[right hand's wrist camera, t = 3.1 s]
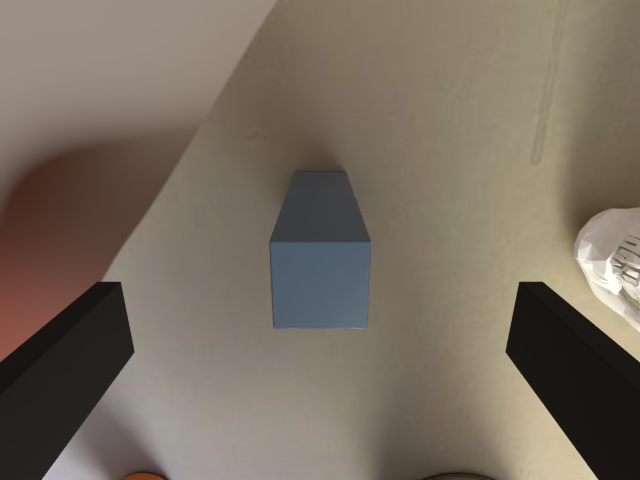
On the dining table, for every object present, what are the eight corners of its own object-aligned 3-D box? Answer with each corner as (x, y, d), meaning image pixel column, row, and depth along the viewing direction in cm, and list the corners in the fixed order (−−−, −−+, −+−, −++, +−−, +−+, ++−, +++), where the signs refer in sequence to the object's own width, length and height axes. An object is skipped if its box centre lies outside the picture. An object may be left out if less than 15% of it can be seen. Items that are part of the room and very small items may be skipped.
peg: (345, 171, 30) (371, 240, 15) (344, 220, 31) (367, 329, 16) (294, 171, 30) (268, 240, 15) (295, 220, 31) (273, 329, 16)
